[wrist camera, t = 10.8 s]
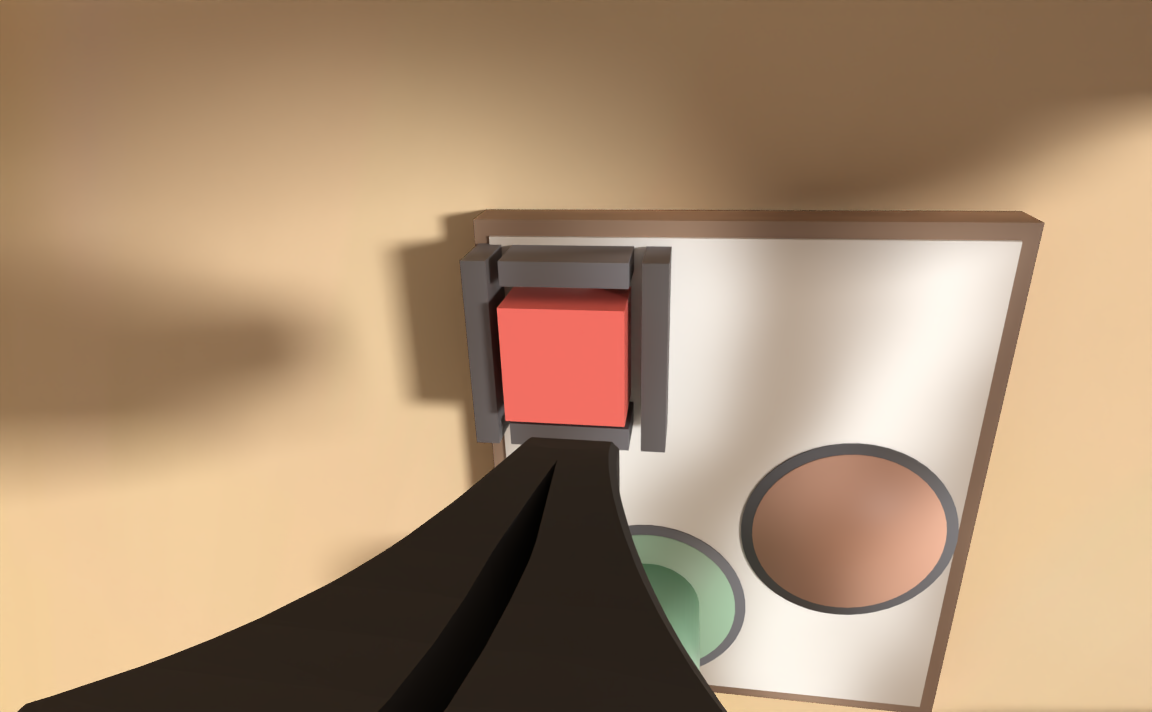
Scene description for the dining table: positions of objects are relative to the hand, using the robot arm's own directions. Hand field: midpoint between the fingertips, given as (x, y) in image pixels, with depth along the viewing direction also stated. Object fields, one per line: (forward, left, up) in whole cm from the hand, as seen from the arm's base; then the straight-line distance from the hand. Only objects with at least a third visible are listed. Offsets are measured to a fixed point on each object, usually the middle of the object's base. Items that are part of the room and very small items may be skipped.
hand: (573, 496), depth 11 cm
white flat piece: (-3, +5, -9) cm, 11 cm away
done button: (+1, +1, -8) cm, 8 cm away
